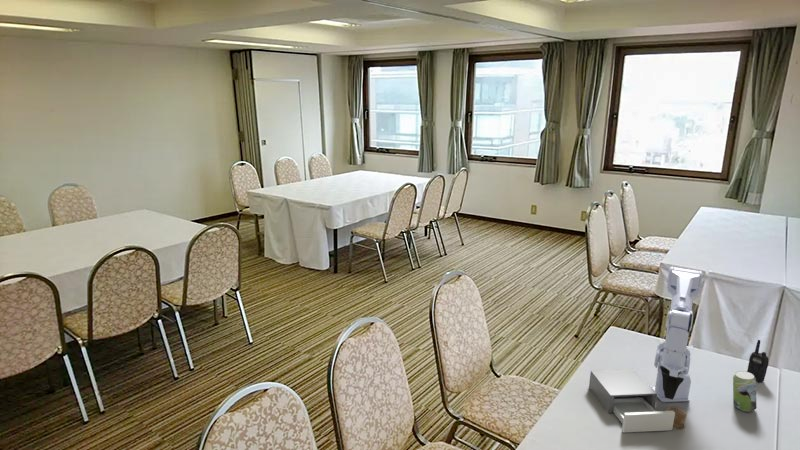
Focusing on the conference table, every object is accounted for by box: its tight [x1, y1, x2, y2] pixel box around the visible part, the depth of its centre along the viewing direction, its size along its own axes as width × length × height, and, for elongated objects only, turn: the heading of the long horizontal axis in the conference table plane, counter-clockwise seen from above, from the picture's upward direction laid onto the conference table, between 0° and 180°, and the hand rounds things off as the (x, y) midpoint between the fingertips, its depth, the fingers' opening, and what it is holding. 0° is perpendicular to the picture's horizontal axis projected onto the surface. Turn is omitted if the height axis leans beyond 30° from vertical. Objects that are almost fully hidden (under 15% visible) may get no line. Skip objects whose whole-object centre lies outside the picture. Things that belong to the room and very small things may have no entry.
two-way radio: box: [746, 339, 769, 384], centre depth 167 cm, size 6×4×15 cm
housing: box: [588, 368, 658, 414], centre depth 157 cm, size 15×14×6 cm
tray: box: [612, 396, 675, 433], centre depth 148 cm, size 15×14×6 cm
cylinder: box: [666, 406, 687, 430], centre depth 146 cm, size 5×5×4 cm
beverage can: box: [732, 370, 758, 412], centre depth 152 cm, size 6×7×12 cm
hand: (667, 394), depth 144 cm, fingers open, 7 cm apart
